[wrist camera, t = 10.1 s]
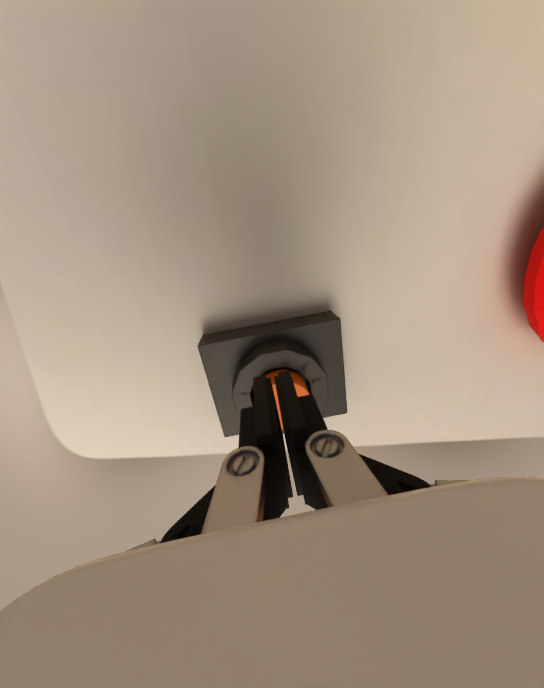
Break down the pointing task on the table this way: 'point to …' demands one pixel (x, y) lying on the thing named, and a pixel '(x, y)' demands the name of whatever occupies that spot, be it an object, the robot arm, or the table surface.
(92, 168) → the table surface
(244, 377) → the control block
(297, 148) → the table surface
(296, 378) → the button
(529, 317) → the flat cone with hole
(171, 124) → the table surface
